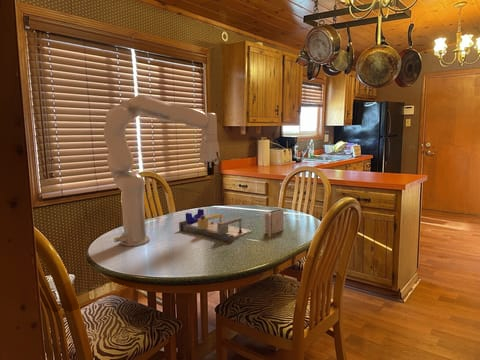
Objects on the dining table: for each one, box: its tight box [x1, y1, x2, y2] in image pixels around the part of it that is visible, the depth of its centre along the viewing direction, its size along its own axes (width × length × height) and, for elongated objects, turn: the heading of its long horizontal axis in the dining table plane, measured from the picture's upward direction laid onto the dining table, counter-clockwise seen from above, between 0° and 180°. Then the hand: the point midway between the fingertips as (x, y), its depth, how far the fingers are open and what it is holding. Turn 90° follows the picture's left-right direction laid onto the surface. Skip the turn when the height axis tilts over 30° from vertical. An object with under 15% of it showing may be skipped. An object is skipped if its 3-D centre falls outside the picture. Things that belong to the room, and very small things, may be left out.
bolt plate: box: [195, 221, 253, 239], centre depth 180 cm, size 12×28×1 cm, turn 49°
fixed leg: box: [216, 217, 243, 235], centre depth 167 cm, size 15×2×7 cm, turn 139°
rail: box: [178, 220, 234, 244], centre depth 171 cm, size 4×33×4 cm, turn 49°
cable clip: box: [185, 208, 205, 225], centre depth 198 cm, size 12×4×6 cm, turn 148°
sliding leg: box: [197, 213, 223, 230], centre depth 175 cm, size 15×2×8 cm, turn 139°
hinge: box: [264, 209, 284, 237], centre depth 174 cm, size 14×5×10 cm, turn 143°
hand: (210, 175), depth 181 cm, fingers closed
